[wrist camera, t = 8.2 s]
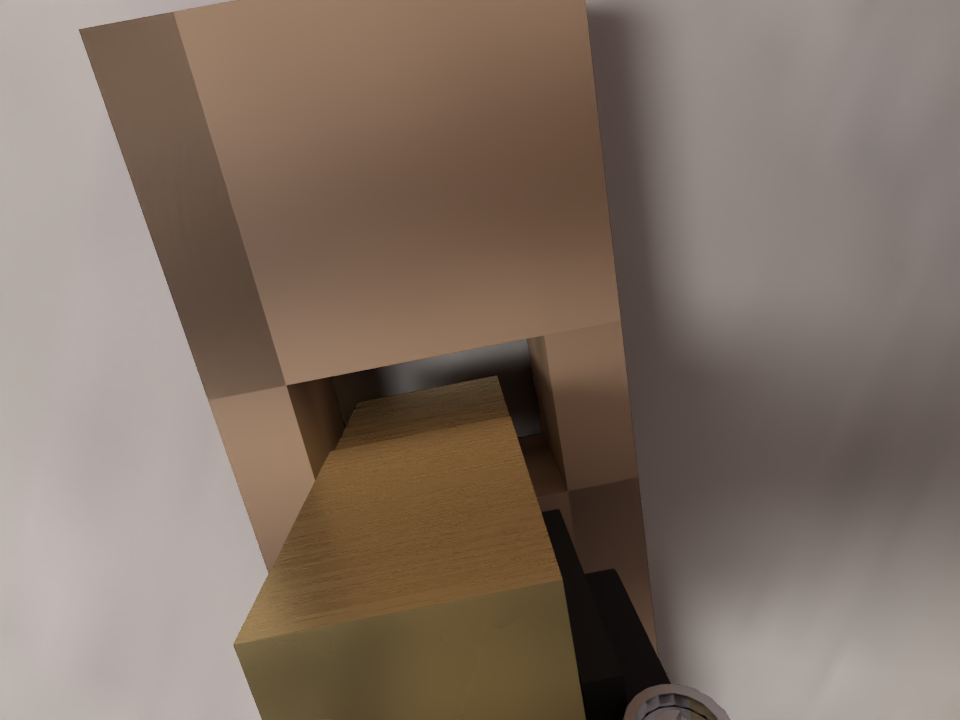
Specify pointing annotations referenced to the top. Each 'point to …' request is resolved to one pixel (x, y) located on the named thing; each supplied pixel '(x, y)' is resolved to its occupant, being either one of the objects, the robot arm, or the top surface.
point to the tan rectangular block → (416, 576)
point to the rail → (383, 228)
